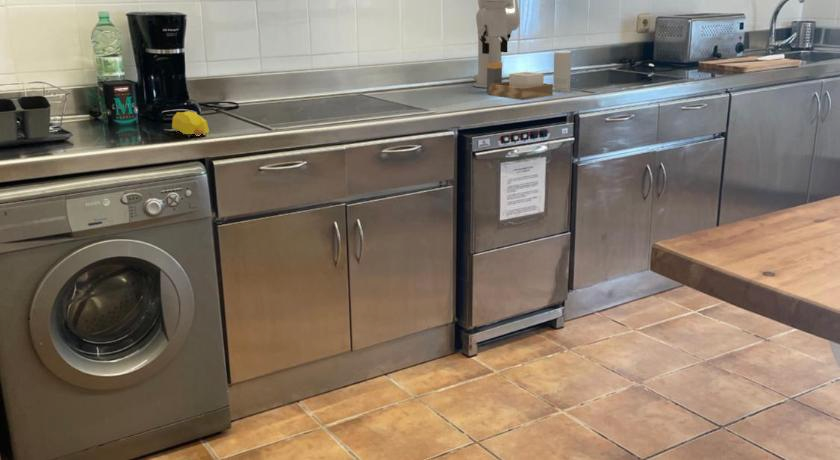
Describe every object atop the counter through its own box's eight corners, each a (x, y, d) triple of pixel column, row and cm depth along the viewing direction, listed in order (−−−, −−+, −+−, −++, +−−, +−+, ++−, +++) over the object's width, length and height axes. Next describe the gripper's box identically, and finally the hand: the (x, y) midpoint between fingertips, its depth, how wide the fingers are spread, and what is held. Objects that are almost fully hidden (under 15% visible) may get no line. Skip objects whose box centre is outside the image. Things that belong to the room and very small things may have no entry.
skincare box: (569, 93, 317) (571, 52, 312) (552, 93, 318) (553, 52, 313) (570, 90, 324) (571, 50, 320) (553, 90, 326) (554, 50, 321)
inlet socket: (509, 95, 311) (509, 73, 308) (525, 92, 316) (526, 71, 314) (526, 97, 304) (527, 75, 302) (543, 95, 310) (543, 73, 307)
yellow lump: (194, 128, 258) (169, 131, 254) (192, 107, 256) (167, 109, 252) (212, 137, 244) (187, 140, 240) (210, 115, 242) (185, 118, 238)
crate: (488, 96, 313) (488, 84, 312) (517, 91, 323) (518, 80, 321) (523, 101, 300) (523, 88, 298) (552, 96, 309) (552, 84, 308)
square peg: (486, 93, 319) (486, 62, 315) (494, 92, 322) (494, 61, 318) (494, 95, 316) (494, 63, 312) (501, 93, 319) (502, 62, 315)
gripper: (504, 5, 317) (503, 51, 322) (471, 7, 306) (471, 53, 311) (518, 6, 311) (517, 52, 316) (485, 7, 301) (485, 54, 306)
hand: (494, 52), depth 314 cm, fingers open, 9 cm apart
